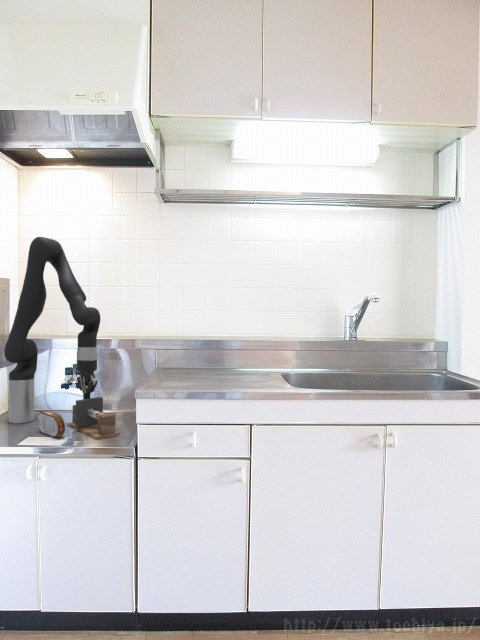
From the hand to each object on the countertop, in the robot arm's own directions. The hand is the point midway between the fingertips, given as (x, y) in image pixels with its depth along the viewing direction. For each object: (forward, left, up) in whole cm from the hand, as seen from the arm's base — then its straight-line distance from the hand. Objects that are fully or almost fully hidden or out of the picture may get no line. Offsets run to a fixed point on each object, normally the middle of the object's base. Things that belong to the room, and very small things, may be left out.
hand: (86, 402), depth 164 cm
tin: (+1, -14, -10) cm, 17 cm away
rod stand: (+5, 0, -10) cm, 11 cm away
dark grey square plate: (+3, 0, -8) cm, 9 cm away
